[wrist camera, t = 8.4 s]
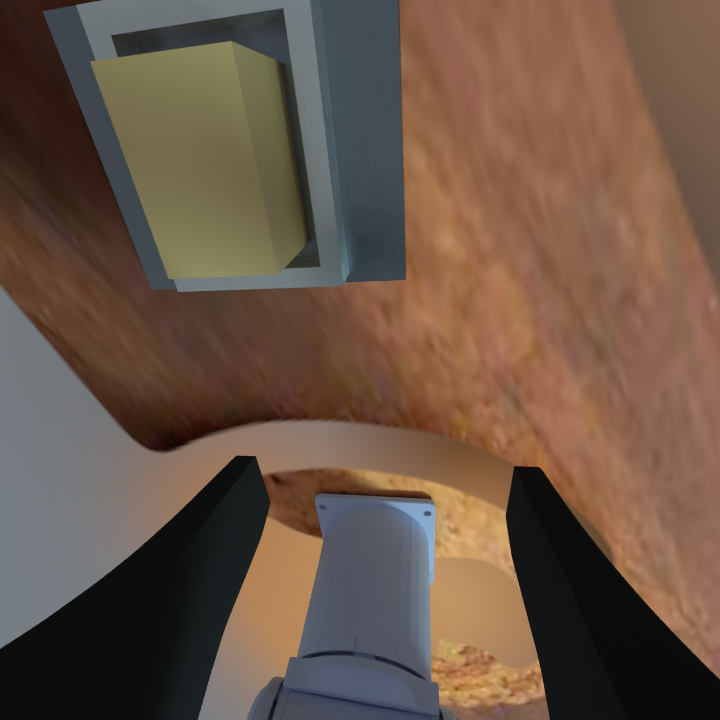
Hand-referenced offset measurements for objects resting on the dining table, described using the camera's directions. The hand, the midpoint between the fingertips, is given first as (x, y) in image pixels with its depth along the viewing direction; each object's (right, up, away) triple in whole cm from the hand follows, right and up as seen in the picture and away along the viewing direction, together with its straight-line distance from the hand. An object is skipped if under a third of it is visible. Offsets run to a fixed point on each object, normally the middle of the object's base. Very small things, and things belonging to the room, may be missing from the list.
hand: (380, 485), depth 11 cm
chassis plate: (-5, +12, +5) cm, 14 cm away
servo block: (-5, +11, +4) cm, 13 cm away
